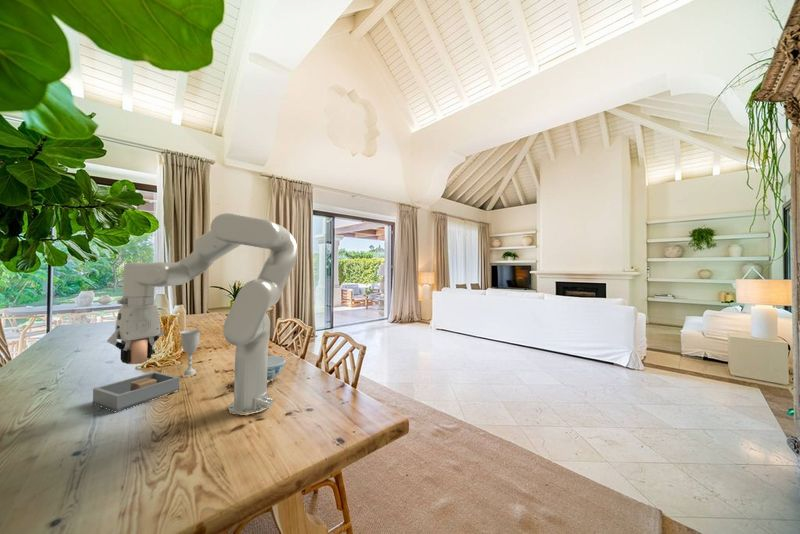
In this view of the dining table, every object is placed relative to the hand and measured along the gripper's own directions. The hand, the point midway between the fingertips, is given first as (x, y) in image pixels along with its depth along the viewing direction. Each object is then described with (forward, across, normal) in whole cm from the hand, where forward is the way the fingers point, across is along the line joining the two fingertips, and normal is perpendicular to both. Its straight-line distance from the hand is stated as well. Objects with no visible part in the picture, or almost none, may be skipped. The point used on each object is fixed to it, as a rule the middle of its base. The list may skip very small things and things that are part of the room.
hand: (136, 359), depth 96 cm
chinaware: (+16, +35, -17) cm, 42 cm away
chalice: (+16, +27, +15) cm, 35 cm away
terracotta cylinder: (+1, 0, 0) cm, 1 cm away
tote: (+16, +6, +10) cm, 19 cm away
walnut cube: (+15, +6, +7) cm, 17 cm away
